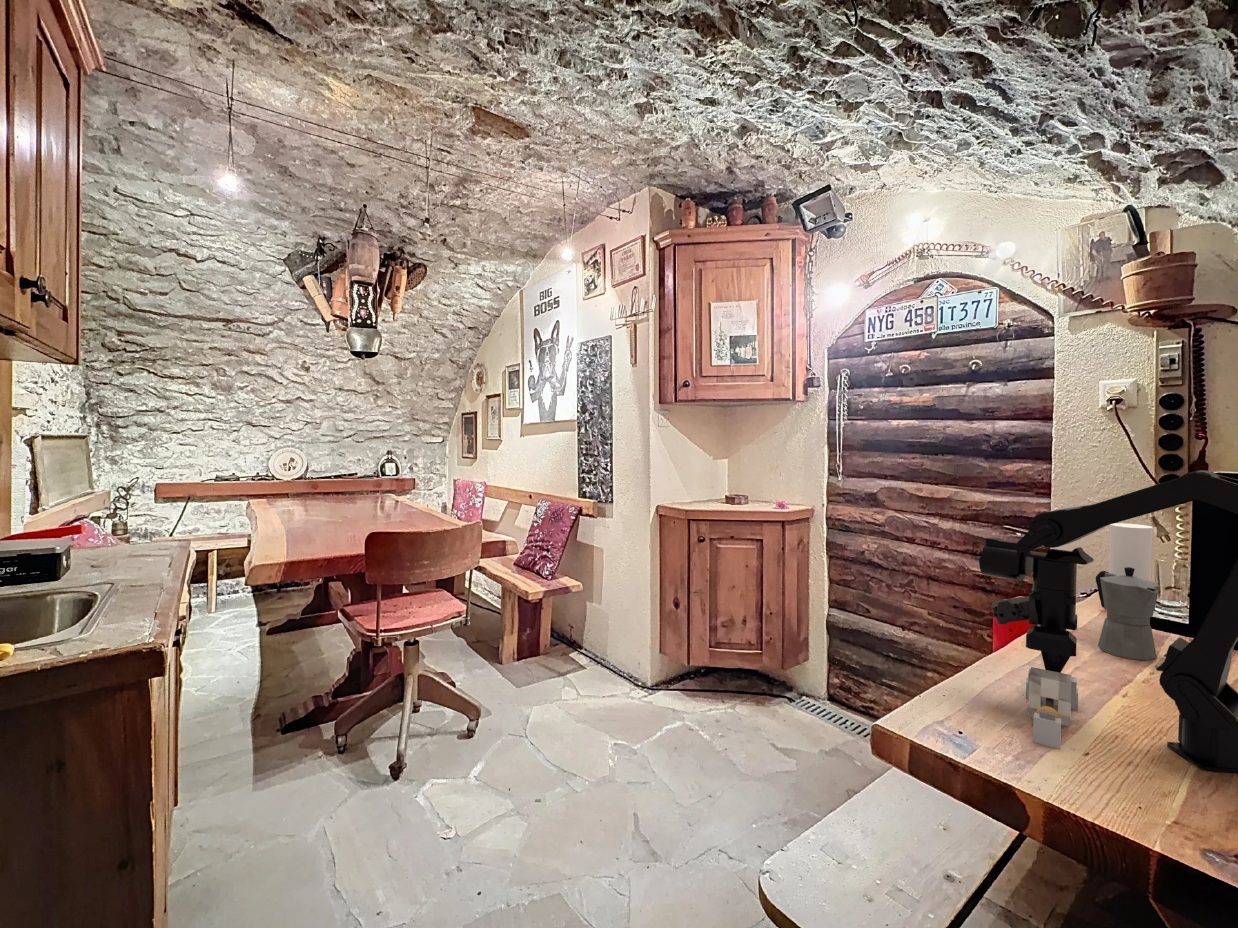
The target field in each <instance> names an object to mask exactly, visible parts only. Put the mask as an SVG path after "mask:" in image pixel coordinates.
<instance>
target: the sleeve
mask: <svg viewBox="0 0 1238 928" xmlns="http://www.w3.org/2000/svg"><path fill="white" fill-rule="evenodd" d="M1030 669H1031V670H1030V674H1029V699H1028V713H1027V714H1028V717H1030V718H1033V719H1034V712H1035V713H1036V711H1037V709H1038V708H1039V707H1041V706H1045V701H1042V697H1047V698H1051V699H1056V700H1058V704H1054V703H1053V709H1055V710H1056V711H1057V712H1058V714H1059V717H1060V719H1061V726H1067V727H1071V712H1072V711H1071V710H1072V709H1071V678H1072V677H1073V676H1072V674H1068V673H1063V672H1061V673H1059V672H1054V671H1049V670H1045V668H1044V669H1043V668H1039V667H1033V666H1030Z"/></svg>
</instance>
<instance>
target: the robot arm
mask: <svg viewBox="0 0 1238 928" xmlns="http://www.w3.org/2000/svg"><path fill="white" fill-rule="evenodd" d="M1193 501H1194V502H1195V501H1201V502H1203V503H1207V504H1209V505H1212V506H1214V507H1217V508H1220V509H1222V510H1224V511H1225V510H1226V511H1227V512H1231V513H1234V514H1237V515H1238V479H1236V478H1231V477H1228V476H1225V475H1220V474H1217V473H1215V472H1214V471H1213V472H1212V471H1211V470H1195V471H1190V472H1187V473H1184V474H1183V475H1182V476H1180V477H1177V478H1173V479H1171V480H1167V481H1164V482H1161V483H1157V484H1154V485H1151V486H1148V487H1144V488H1141V489H1138V490H1135V491H1131V492H1129V493H1126V494H1125V493H1124V494H1123V495H1119V496H1116V497H1113V498H1109V499H1107V500H1103V501H1100V502H1097V503H1093V504H1086V505H1080V506H1073V507H1072V506H1071V507H1067V508H1061V509H1059V508H1058V509H1055V510H1049V511H1045V512H1041V513H1038V514H1036V515H1034V516H1033V517H1032V518H1031V520H1030V522H1029V525H1028V526H1029V527H1028V531H1027V532H1026V533H1025V534H1024V535H1023V536H1022V537H1021V538H1020V539H1019V540H1018V541H1016V540H1007V539H1002V538H1000V537H992V536H991V537H987V538H985V545H984V546H983V548H982V550H981V552H980V553H981V554H980V557H979V558H978V559H979V561H978V564H979V569H980V573H981V574H982V575H984V576H988V577H989V576H990V577H994V578H995V577H996V578H1001V579H1008V580H1015V581H1019V582H1022V581H1023V580H1024V579H1025V578H1026V577H1030V576H1031V575H1032V588H1031V589H1030V592H1029V594H1028V595H1027V596H1016V597H1010V598H1004V599H998V600H994V601H993V602H992V604H991V605H990V607H991V609H992V616H993V617H994V618H995V619H996V620H995V621H996V623H997V624H998V625H1007V624H1008V623H1014V622H1015V623H1016V622H1022V621H1023V622H1024V621H1027V620H1028V625H1034V626H1032V627H1030V628H1029V629H1027V631H1026V635H1025V648H1027V649H1030V650H1034V651H1040V654H1041V657H1042V662H1043V666H1044V670H1049V671H1054V672H1059V673H1062V671H1063V669H1064V668H1065V666H1066V664H1067V663H1068V661H1070V659H1071V657H1077V640H1078V639H1077V637H1076V636H1075V635H1074V634H1073V632H1071V631H1077V630H1078V614H1077V613H1076V610H1077V609H1076V608H1077V575H1078V573H1077V569H1078V568H1077V567H1078V566H1077V565H1083V566H1084V565H1088V564H1091V563H1093V562H1094V561H1095V560H1094V558H1093V556H1090V555H1089V554H1088V553H1086V551H1084V549H1083V548H1082V547H1081V546H1078V547H1076V548H1073V550H1067V549H1065V550H1064V549H1055V548H1059V547H1061V546H1065V545H1069V544H1071V543H1074V542H1077V541H1078V540H1080V539H1082V538H1085V537H1087V536H1089V535H1091V534H1094V533H1096V532H1098V531H1099V530H1102V529H1104V528H1106V527H1108V526H1110V524H1114V523H1121V522H1123V521H1124V522H1125V521H1127V520H1130V519H1134V518H1138V517H1141V516H1145V515H1148V514H1152V513H1156V512H1159V511H1163V510H1167V509H1169V508H1173V507H1177V506H1179V505H1180V506H1181V505H1184V504H1187V503H1191V502H1193ZM1044 547H1045V548H1048V549H1049V548H1050V549H1049V550H1048V551H1047V552H1040V551H1034V550H1037V549H1041V548H1044ZM1237 642H1238V558H1237V559H1236V561H1235V562H1234V564H1233V566H1232V568H1231V570H1230V572H1229V574H1228V576H1227V577H1226V579H1225V581H1224V583H1223V584H1222V587H1221V589H1220V590H1219V592H1218V593H1217V596H1216V598H1215V599H1214V601H1213V603H1212V605H1211V607H1210V608H1209V610H1208V613H1206V616H1205V618H1204V619H1203V622H1202V623H1201V625H1200V627H1199V629H1198V630H1197V633H1196V634H1195V636H1194V638H1192V640H1191V641H1190V642H1189V641H1187V640H1185V639H1183V638H1182V637H1177V638H1176V640H1174V641H1173V642H1172V643H1170V644H1169V645H1168V648H1167V650H1166V655H1165V659H1164V661H1163V662H1162V663H1160V664H1159V665H1158V666H1157V667H1156V669H1155V670H1156V671H1158V672H1161V674H1160V676H1159V679H1158V680H1159V685H1160V687H1161V689H1162V690H1163V692H1164V693H1165V694H1166V695H1167V696H1168V697H1169V698H1170V699H1171V700H1173V701H1174V703H1175V705H1176V708H1177V711H1178V713H1179V714H1178V731H1177V735H1178V737H1177V740H1178V742H1175V741H1167V742H1166V746H1167V747H1169V748H1170V749H1171V750H1173V751H1174V752H1176V753H1178V754H1179V755H1181V756H1182V757H1183V758H1185V759H1186V760H1187V761H1189V762H1190V763H1192V764H1193V765H1195V766H1197V767H1198V768H1200V769H1202V770H1203V771H1204V770H1205V771H1213V772H1214V771H1215V772H1230V773H1238V691H1237V690H1236V689H1235V688H1233V687H1232V685H1230V684H1229V683H1228V682H1227V681H1228V678H1229V673H1230V670H1231V665H1232V661H1233V660H1232V659H1233V654H1234V649H1235V645H1236V644H1237Z"/></svg>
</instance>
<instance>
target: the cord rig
mask: <svg viewBox="0 0 1238 928" xmlns="http://www.w3.org/2000/svg"><path fill="white" fill-rule="evenodd" d="M1030 670H1031V667H1029V669H1028V672H1027V674H1028V675H1027V679H1026V682H1025V683H1026V684H1025V685H1026V687H1025V699H1028V700H1029V674H1030ZM1077 679H1078V678H1077V677H1075V676H1072V678H1071V710H1075V711H1078V710H1079V688H1077V682H1078V681H1077ZM1042 701H1045V706H1041V707H1039V708H1038V709H1037V711H1036V713H1035V712H1034V718H1033V722H1032V723H1033V725H1032V726H1033V727H1032V728H1033V729H1032V730H1033V731H1032V732H1033V734H1032V742H1033V743H1036V744H1039V745H1044V746H1046V747H1051V748H1053V749H1058V750H1061V743H1062V742H1061V740H1062V739H1061V737H1062V736H1061V735H1062V724H1061V719H1060V717H1059V714H1058V712H1057V711H1056V710H1055V709H1053V703H1054V704H1058V700H1056V699H1051V698H1047V697H1042Z"/></svg>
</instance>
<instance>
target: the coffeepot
mask: <svg viewBox="0 0 1238 928" xmlns="http://www.w3.org/2000/svg"><path fill="white" fill-rule="evenodd" d="M1124 569H1125V574H1126V575H1124V576H1117V575H1116V574H1113V573H1109V571H1107V570H1106V571H1105V570H1101V571H1100V572H1098V573H1097V574H1096V576H1095V583H1096V587H1097V592H1098V597H1099V600H1100V601H1099V602H1100V605H1101V607H1102V609H1105V611H1106V617H1105V618H1104V621H1103V624H1102V628H1101V632H1100V635H1099V636H1100V637H1099V638H1098V640H1099V641H1098V644H1097V646H1098V647H1099V649H1100V650H1101V651H1102V652H1104V653H1106V654H1109V655H1112V656H1115V657H1119V658H1123V659H1129V660H1135V661H1152V660H1154V659H1156V658H1158V656H1157V650H1156V645H1155V641H1154V634H1153V630H1152V626H1151V625H1150V623H1149V621H1150V618H1153V616H1154V612H1155V608H1156V605H1157V600H1158V596H1159V591H1160V588H1161V585H1159V584H1158V583H1156V582H1154V581H1152V580H1151V581H1148V580H1144V579H1141V578H1137V577H1134V576H1133V573H1134V570H1135V569H1134V568H1131V567H1126V568H1124ZM1150 622H1151V621H1150Z"/></svg>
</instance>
